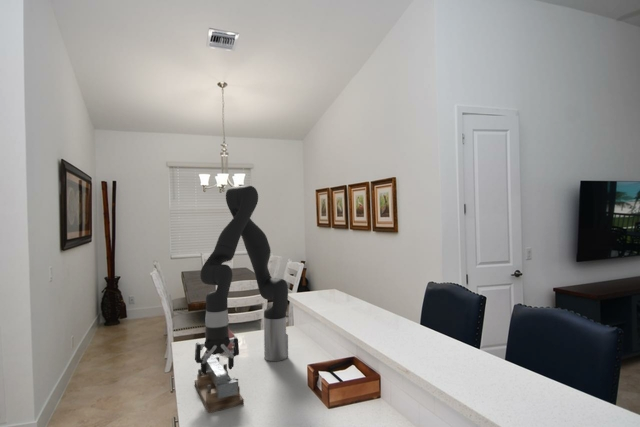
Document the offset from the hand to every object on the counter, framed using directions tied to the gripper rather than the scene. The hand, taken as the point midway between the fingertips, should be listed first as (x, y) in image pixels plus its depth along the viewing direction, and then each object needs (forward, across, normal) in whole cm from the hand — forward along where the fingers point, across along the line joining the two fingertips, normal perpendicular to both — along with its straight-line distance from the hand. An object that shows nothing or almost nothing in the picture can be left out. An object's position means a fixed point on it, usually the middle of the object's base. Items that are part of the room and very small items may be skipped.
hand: (217, 371), depth 127 cm
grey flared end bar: (+3, 0, 0) cm, 3 cm away
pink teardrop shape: (+8, -14, -41) cm, 44 cm away
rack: (+8, 0, 0) cm, 8 cm away
